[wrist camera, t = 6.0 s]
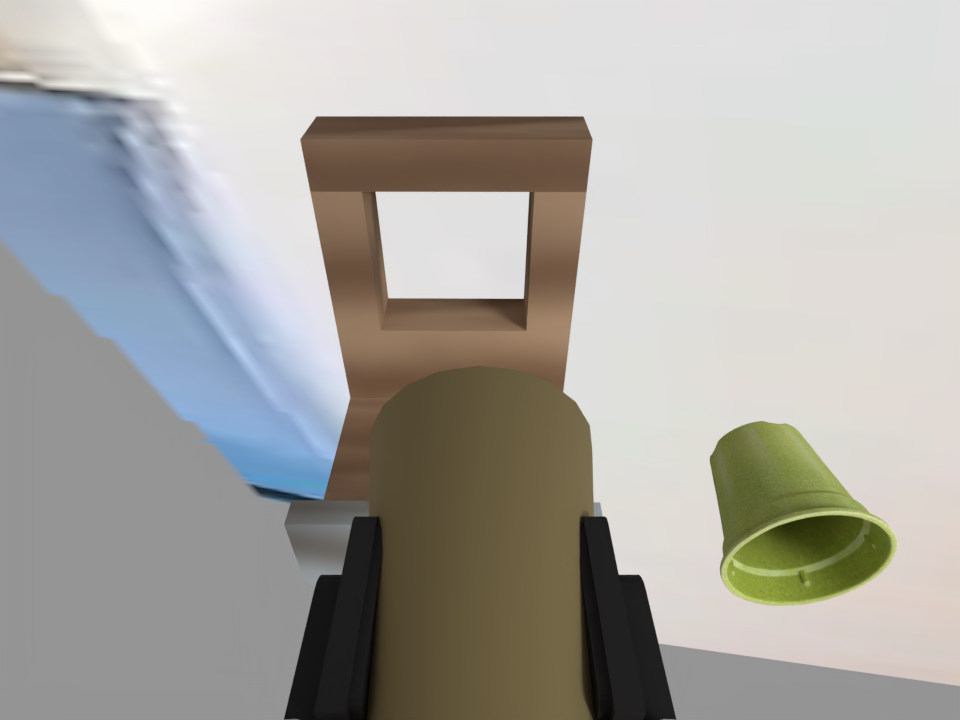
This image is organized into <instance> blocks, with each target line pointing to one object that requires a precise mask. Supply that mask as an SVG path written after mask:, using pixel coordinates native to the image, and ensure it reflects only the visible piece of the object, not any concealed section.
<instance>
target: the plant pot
mask: <svg viewBox="0 0 960 720" xmlns="http://www.w3.org/2000/svg"><path fill="white" fill-rule="evenodd" d="M710 465H711V470H712V476H713V481H714V486H715V491H716V496H717V501H718V507H719V513H720V518H721V524H722V530H723V536H724V541H723V546H722V550H723V558H722V560H721V564H720V575H721V579H722V582H723V583H724V585H725V587H726V588H727V589H728V590H729V591H730V592H731V593H732V594H734V595H735V596H737V597H739V598H741V599H744V600H746V601H749V602H753V603H757V604H763V605H771V606H794V605H803V604H810V603H816V602H820V601H825V600H829V599H831V598H835V597H838V596H840V595H843V594H845V593H848V592H851V591H853V590H855V589H857V588H859V587H861V586H863V585H864V584H866V583H868V582H870V581H871V580H873V579H874V578H875V577H877V576H878V575H879V574H881V573H882V572H883V571H884V570H885V569H886V568H887V567H888V566H889V565H890V563H891V561H892V560H893V558H894V555H895V552H896V550H897V538H896V535H895V534H894V532H893V530H892V529H891V528H890V526H889V525H888V524H887V523H886V522H885V521H883V520H882V519H880V518H879V517H877V516H875V515H873V514H871V513H869V511H868V510H867V509H866V508H865V507H864V506H863V505H862V504H861V503H859V502H858V501H856V500H854V499H853V498H852V496H851V495H850V494H849V493H848V492H847V490H846V489H845V488H844V487H843V485H842V484H841V483H840V482H839V480H838V479H837V478H836V477H835V476H834V474H833V473H832V472H831V471H830V469H829V468H828V467H827V466H826V464H825V463H824V462H823V461H822V460H821V458H820V457H819V456H818V455H817V453H816V452H815V451H814V449H813V448H812V447H811V446H810V444H809V443H808V442H807V441H806V440H805V438H804V437H803V436H802V435H801V433H800V432H799V431H798V430H797V429H795V428H794V427H793V426H791V425H789V424H786V423H784V424H775V423H769V422H765V421H758V422H752V423H749V424H745V425H742V426H740V427H738V428H735V429H734V430H732V431H730V432H728V433H727V434H725V435H724V436H723V437H722V438H721V439H720V440H719V441H718V443H717V445H716V447H715V450H714V451H713V453H712V455H711V456H710Z"/></svg>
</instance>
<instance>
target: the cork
mask: <svg viewBox="0 0 960 720" xmlns="http://www.w3.org/2000/svg"><path fill="white" fill-rule="evenodd" d="M369 516H379V522H377V523H380V525H381V529H382V546H383V551H382V560H381V569H380V578H379V588H378V599H377V610H376V620H375V631H374V642H373V652H372V663H371V674H370V685H369V695H368V706H367V717H366V720H595V714H594V704H593V693H592V683H591V673H590V663H589V653H588V643H587V633H586V622H585V612H584V602H583V592H582V582H581V572H580V527H581V524H582V523H583V522H582V516H594V497H593V457H592V442H591V431H590V425H589V423H588V421H587V420H586V418H585V416H584V415H583V413H582V411H581V410H580V408H579V406H578V405H577V403H576V402H575V401H574V400H573V399H571V398H570V397H569V396H568V395H566V394H565V393H564V392H562V391H561V390H560V389H558V388H557V387H556V386H555V385H553V384H552V383H551V382H548V381H545V380H543V379H540V378H537V377H535V376H532V375H529V374H527V373H524V372H521V371H519V370H515V369H505V368H495V367H485V366H472V367H465V368H458V369H451V370H444V371H439V372H436V373H434V374H432V375H429V376H427V377H425V378H422V379H420V380H418V381H415V382H413V383H411V384H408V385H406V386H405V387H404V388H403V389H401V390H400V391H399V392H398V393H397V394H396V395H395V396H393V397H392V398H391V399H390V400H389V401H388V402H386V403H385V404H384V405H383V406H382V408H381V410H380V412H379V414H378V416H377V418H376V420H375V422H374V424H373V426H372V428H371V436H370V482H369Z"/></svg>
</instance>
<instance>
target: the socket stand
mask: <svg viewBox="0 0 960 720" xmlns="http://www.w3.org/2000/svg"><path fill="white" fill-rule="evenodd" d="M300 141H301V147H302V152H303V157H304V162H305V167H306V172H307V177H308V183H309V188H310V193H311V198H312V203H313V208H314V214H315V219H316V224H317V229H318V234H319V239H320V244H321V250H322V255H323V260H324V265H325V270H326V275H327V280H328V286H329V291H330V296H331V301H332V306H333V311H334V317H335V322H336V327H337V332H338V337H339V342H340V347H341V353H342V358H343V363H344V368H345V373H346V378H347V384H348V389H349V394H350V401H349V405H348V408H347V412H346V416H345V420H344V424H343V427H342V431H341V435H340V439H339V443H338V446H337V450H336V454H335V458H334V462H333V465H332V469H331V473H330V477H329V481H328V484H327V488H326V492H325V496H324V500H292V501H291V504H290V507H289V510H288V513H287V517H286V520H285V523H284V526H285V528H286V531H287V534H288V537H289V540H290V542H291V545H292V548H293V551H294V554H295V556H296V559H297V562H298V565H299V568H300V570H301V573H302V576H303V579H304V582H305V584H306V587H315V586H316V582H317V580H318V578H319V576H320V575H342V570H343V565H344V560H345V555H346V550H347V545H348V540H349V535H350V530H351V525H352V521H353V518H354V517H355V516H369V482H370V436H371V428H372V426H373V424H374V422H375V420H376V418H377V416H378V414H379V412H380V410H381V408H382V406H383V405H384V404H385V403H386V402H388V401H389V400H390V399H391V398H392V397H393V396H395V395H396V394H397V393H398V392H399V391H400V390H401V389H403V388H404V387H405V386H406V385H408V384H411V383H413V382H415V381H418V380H420V379H422V378H425V377H427V376H429V375H432V374H434V373H436V372H439V371H444V370H451V369H458V368H465V367H472V366H485V367H495V368H505V369H515V370H519V371H521V372H524V373H527V374H529V375H532V376H535V377H537V378H540V379H543V380H545V381H548V382H551V383H552V384H553V385H555V386H556V387H557V388H558V389H560V390H561V391H562V392H563V390H564V381H565V373H566V364H567V356H568V347H569V338H570V330H571V321H572V313H573V304H574V296H575V287H576V278H577V270H578V261H579V253H580V244H581V236H582V227H583V218H584V210H585V201H586V193H587V184H588V176H589V167H590V158H591V150H592V141H593V139H592V137H591V134H590V131H589V129H588V126H587V124H586V121H585V119H584V116H316V118H315V119H314V121H313V122H312V123H311V125H310V126H309V128H308V129H307V130H306V132H305V133H304V135H303V136H302V137H301V139H300ZM376 192H529V208H528V227H527V247H526V266H525V285H524V299H458V298H388V291H387V283H386V275H385V266H384V258H383V250H382V242H381V233H380V225H379V217H378V208H377V200H376ZM594 516H603V515H602V510H601V504H600V502H594Z"/></svg>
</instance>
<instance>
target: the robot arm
mask: <svg viewBox="0 0 960 720" xmlns="http://www.w3.org/2000/svg"><path fill="white" fill-rule="evenodd" d="M377 522H379V516H355V517H354V518H353V521H352V525H351V530H350V535H349V540H348V545H347V550H346V555H345V560H344V565H343V570H342V575H320V576H319V578H318V580H317V582H316V586H315V589H314V593H313V597H312V602H311V606H310V610H309V614H308V619H307V623H306V627H305V631H304V636H303V640H302V644H301V648H300V653H299V657H298V661H297V665H296V670H295V674H294V678H293V682H292V687H291V691H290V695H289V699H288V704H287V708H286V712H285V716H284V720H366V717H367V706H368V695H369V685H370V674H371V663H372V652H373V642H374V631H375V620H376V610H377V599H378V588H379V578H380V569H381V560H382V551H383V546H382V529H381V525H380V523H377ZM582 522H583V523H582V524H581V527H580V572H581V582H582V592H583V602H584V612H585V622H586V633H587V643H588V653H589V663H590V673H591V683H592V693H593V704H594V714H595V720H676V715H675V711H674V707H673V703H672V698H671V694H670V690H669V686H668V681H667V677H666V673H665V669H664V664H663V660H662V656H661V652H660V647H659V643H658V639H657V635H656V630H655V626H654V622H653V618H652V613H651V609H650V605H649V601H648V596H647V592H646V588H645V585H644V582H643V579H642V577H641V576H640V575H619V574H618V569H617V564H616V559H615V554H614V549H613V544H612V539H611V534H610V529H609V524H608V520H607V518H606V517H605V516H582Z"/></svg>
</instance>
